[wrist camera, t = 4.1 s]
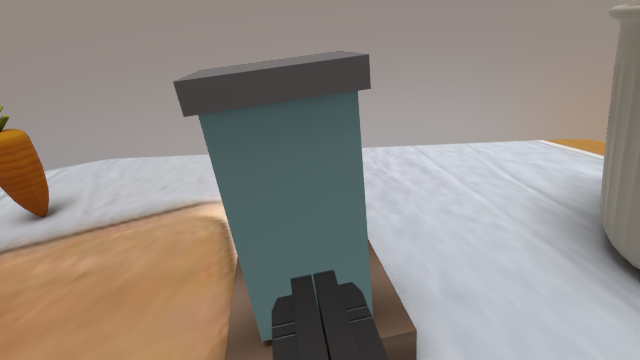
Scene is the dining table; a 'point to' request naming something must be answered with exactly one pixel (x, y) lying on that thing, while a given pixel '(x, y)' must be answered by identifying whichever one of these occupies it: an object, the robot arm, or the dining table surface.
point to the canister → (624, 140)
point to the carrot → (22, 170)
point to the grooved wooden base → (388, 314)
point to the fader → (288, 168)
